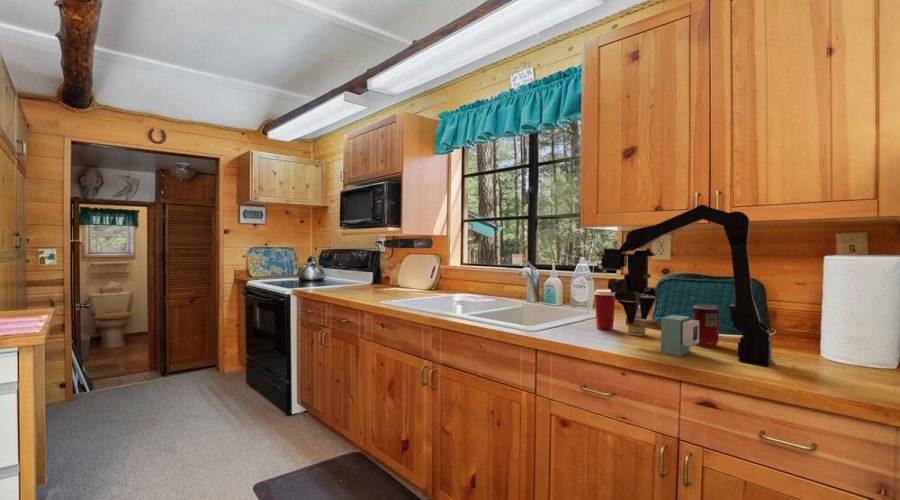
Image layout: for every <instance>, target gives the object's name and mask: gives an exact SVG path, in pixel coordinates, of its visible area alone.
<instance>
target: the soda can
mask: <svg viewBox="0 0 900 500" xmlns="http://www.w3.org/2000/svg"><path fill="white" fill-rule="evenodd" d="M719 314H720V309H719V307H718V306H716V305H713V304H701V303H700V304H694V305H693V306H692V308H691V320H699V343H698V344H696V345H695V346H697V347H702V348H716V346H717V344H718V343H719V339H720V337H719V335H720V333H719V331H720V330H719V329H720V327H719V325H720V319H719V317H720V315H719Z"/></svg>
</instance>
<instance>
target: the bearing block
mask: <svg viewBox="0 0 900 500" xmlns="http://www.w3.org/2000/svg"><path fill="white" fill-rule="evenodd" d="M688 320H691V316H686V315H677V314H670V315H666V316H663V317H661V330H660V353H661V354H663V355H664V354H665V355H670V356H676V357H681V356H683V355H686V354H688V353H690V351H691V347H690V346H684V345H683V322H685V321H688Z"/></svg>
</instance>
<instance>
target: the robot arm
mask: <svg viewBox="0 0 900 500" xmlns="http://www.w3.org/2000/svg"><path fill="white" fill-rule="evenodd" d="M700 221H707V222H711V223H713V224H716V225H720V226H723V228H724V232H725V235H726V237H727V240H728V243H729V246H730V253H731V262H732V270H733V271H732V273H733V274H732V275H733V281H734V282H733V283H734V291H735V301H734V302H735V303H730V304H729V306H728V309H729V314H730V320H729V322H730V323H731V322H732V323H733V326H734V329H736V330H737V331H739V332H740V333H741V336H740V338H739V339H740V341H738V342H737V358H738V359H737V361H738V362H743V363H748V364H755V365H761V366H766V367H768V366H770V365H771V364H772V363H774V362H773V361H774V359H772V338H770V336H771V334H770V333H771V332H770V331H771V330H770V329H769V327H768V326H766V325H765V324H764V323H763V322H762V321H761V317H760V314H759V311H758V308H757V305H756V302H755V299H754V297H753V289H752V288H753V286H752V279H751V269H750V259H749V252H748V251H749V249H748V242H749V236H750V226H751V221H750V218H749V217H748V215H747V214H746V213H744V212H742V211H738V210H737V211H735V210H734V211H732V212H731V211H730V212H727V211H724V210H722V209H721V210H720V209H716V208H713V207H711V206H710V207H709V206H708V205H705V204H700V205H697V206H696V207H695V208H692V209H689V210H687V211H684V212H681V213H680V214H678V215H675V216H673V217H670V218H668V219H666V220H663V221H661V222H659V223H656V224H653V225H649V226H644V227H639V228H636V229H631V230H630V231H629V232H627V234H626V236H625V241H624V243H622V245H621V246H620V247H619V248H607V247H605V248H603V253H602V256H601V259H600V264H601V268H602V270H605V271H606V270H607V271H608V270H609V271H610V270H611V271H623V270H624V268H626V267H627V273H625V274H624V275H623V278H622V279H619V280H617V278H611V279H608V281H607V282H608V283H607V290H611V293H614V292H615V301H616V302H617V303H618V304H620V305H621V306H622V307H623V309H624V312H625V315H626V318H627V319H628V322H629V324H633V322H634V320H635V317H636V314H637V311H638V308H639V306H640V310H641V317H642V319H646V320H648V317H649V315H650V312H651V311H652V309H653V307H654V306H655V303H656V302H657V300H658V299H659V298H658V297H660V292H661V291H660V289H659V288H657V287H655V286H649V279H650V278H652V277H651V273H649V257H656V253H655V251H653V250H652V249H651V248H650V247H648V246H650V245H652V244H653V243H655V242H656V241H658V240H659V239H660V238H662V237H664V236H666V235H669V234H671V233H673V232H677V231H678V230H682V229H683V228H686V227H688V226H691V225H693V224H695V223H698V222H700ZM647 247H648V248H647ZM644 248H646V249H645V250H639V249H644ZM637 249H638V250H637ZM633 251H634V253H630V252H633ZM627 252H629V253H627Z"/></svg>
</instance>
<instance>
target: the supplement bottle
mask: <svg viewBox="0 0 900 500" xmlns="http://www.w3.org/2000/svg"><path fill="white" fill-rule="evenodd" d="M635 318H638V319H642V317H641V310H640V305H639V308H638V311H637V314H636V317H635ZM627 334H629V335H631V336H639V337H641V336H642V337H643V336H645V335H646V328H642V327H635V326H628V325H627Z"/></svg>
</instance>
